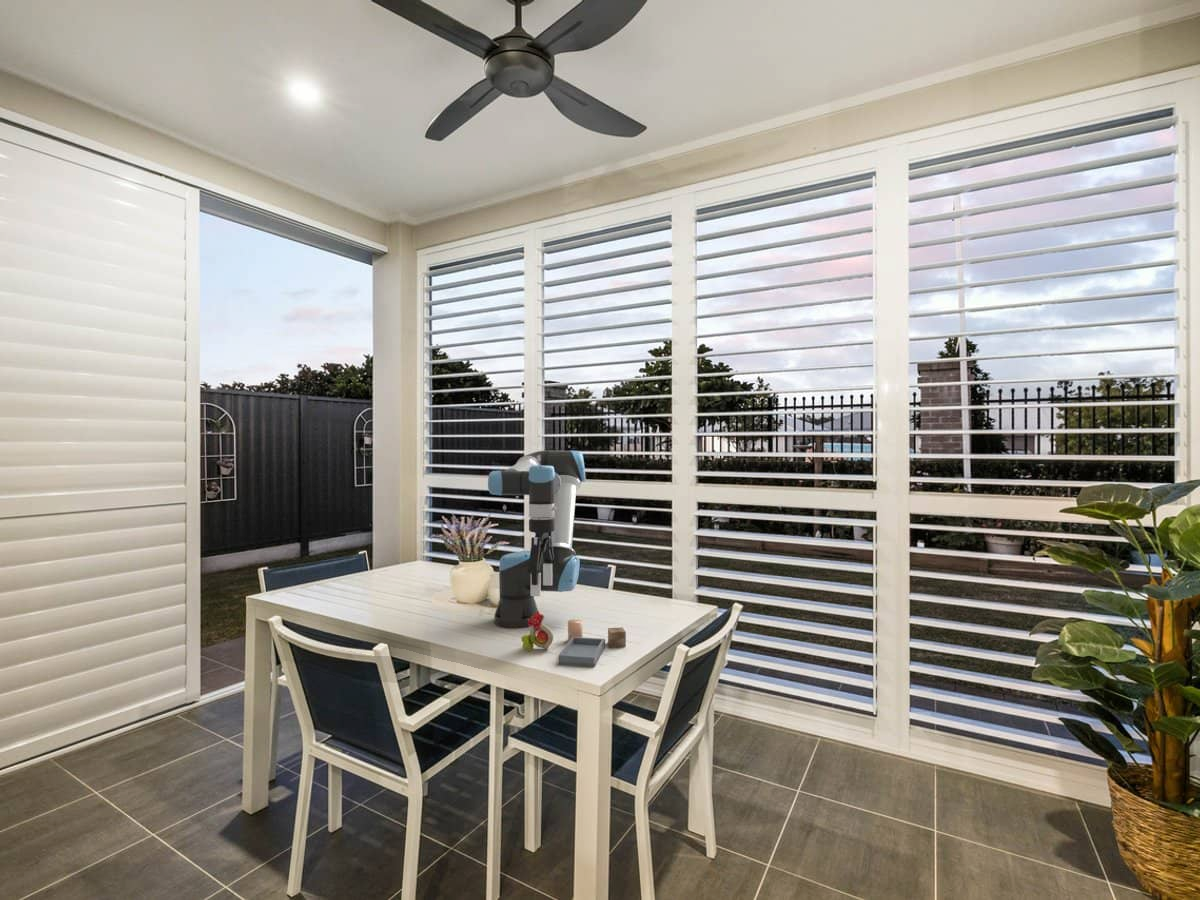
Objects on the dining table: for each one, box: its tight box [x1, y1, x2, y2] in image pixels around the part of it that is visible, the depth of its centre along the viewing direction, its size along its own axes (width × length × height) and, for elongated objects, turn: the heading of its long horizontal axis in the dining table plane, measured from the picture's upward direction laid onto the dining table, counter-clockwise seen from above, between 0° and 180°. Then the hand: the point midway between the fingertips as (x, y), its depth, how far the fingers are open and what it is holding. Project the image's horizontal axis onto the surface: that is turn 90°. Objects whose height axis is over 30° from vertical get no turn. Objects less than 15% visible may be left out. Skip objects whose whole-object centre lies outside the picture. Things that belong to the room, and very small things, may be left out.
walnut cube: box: [607, 627, 627, 648], centre depth 177 cm, size 4×4×4 cm
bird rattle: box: [520, 610, 554, 652], centre depth 174 cm, size 6×11×9 cm
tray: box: [558, 636, 606, 668], centre depth 168 cm, size 10×16×2 cm, turn 169°
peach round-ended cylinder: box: [567, 618, 583, 643], centre depth 181 cm, size 4×4×6 cm
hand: (541, 590), depth 174 cm, fingers open, 13 cm apart
